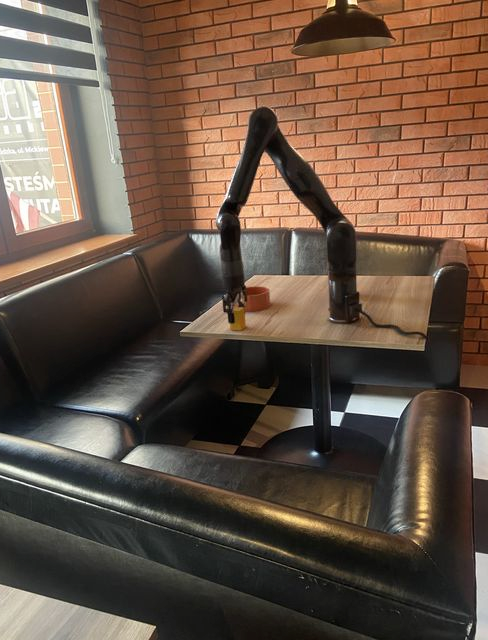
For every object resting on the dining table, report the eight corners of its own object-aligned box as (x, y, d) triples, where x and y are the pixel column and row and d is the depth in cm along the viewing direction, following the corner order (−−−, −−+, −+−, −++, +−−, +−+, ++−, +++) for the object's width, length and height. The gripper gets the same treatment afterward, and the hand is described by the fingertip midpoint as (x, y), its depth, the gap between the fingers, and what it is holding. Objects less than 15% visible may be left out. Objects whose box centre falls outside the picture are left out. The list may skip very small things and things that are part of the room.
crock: (277, 304, 208) (276, 289, 205) (250, 313, 199) (249, 298, 197) (253, 299, 218) (252, 284, 216) (226, 307, 210) (225, 293, 208)
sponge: (245, 326, 186) (244, 307, 183) (241, 330, 182) (239, 310, 180) (235, 326, 187) (233, 307, 185) (230, 329, 184) (228, 310, 182)
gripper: (233, 278, 171) (238, 326, 176) (251, 268, 182) (255, 313, 188) (212, 278, 174) (217, 325, 180) (231, 267, 186) (236, 312, 191)
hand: (237, 319), depth 184 cm, fingers open, 8 cm apart
